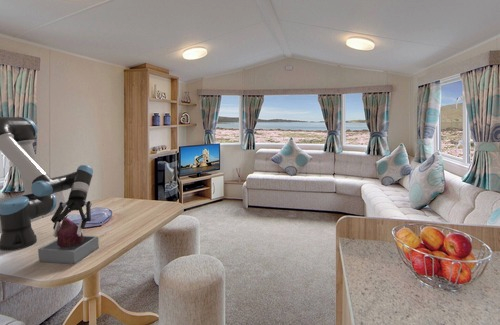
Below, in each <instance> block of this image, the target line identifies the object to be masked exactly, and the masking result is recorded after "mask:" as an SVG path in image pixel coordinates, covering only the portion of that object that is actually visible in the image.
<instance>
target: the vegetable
mask: <svg viewBox="0 0 500 325" xmlns="http://www.w3.org/2000/svg"><path fill="white" fill-rule="evenodd" d="M78 227H79V225H77V224H76V223H75V222H73V221H72V220H71V219H69V218H68V217H64V219H63V220H62V221H61V226H60V229H59V232H58V236H57V237H56V240H57V245H58V246H59V247H63V248H65V247H72V246H76V245H78V244H81V243H82V242H83V236H84V235H83V232H81V236H78V235H77V230H78Z"/></svg>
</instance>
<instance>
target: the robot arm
mask: <svg viewBox="0 0 500 325" xmlns="http://www.w3.org/2000/svg"><path fill="white" fill-rule="evenodd" d="M37 135H38V127H37V125H36V123H35V122H34V121H33V120H32V119H30V118H27V117H21V116H14V117H13V116H10V117H9V116H0V152H1V154H3V155H4V156H5V157H6V158H7V159H8V160H9V161H10V163H12V165H13V166H15V168H16V169H17V170H18V171H19V175H20V179H21V182H22V183H21V184H22V186H23V189H24V192H23V193H22V195H21V196H14V197H10V198H7V199H5V200H2V201H1V202H0V226H1V227H0V228H1V229H0V230H1V234H0V251H16V250H20V249H21V250H22V249H24V248H27V247H29V246H33V245H34V244H36V243H37V241H38V239H37V235H36V234H35V231H34V230H33V227H32V222H31V220H34V219H36V218H40V217H42V216H46V215H48V214H49V213H51V212H54V210H55V209H56V211H55V212H54V214H53V216H52V218H50V221H51V222H52V223H53V227H52V228H53V233H52V236H54V238H57V236H58V232H59V229H60V227H61V224H62V220H63V219H64V217H65V218H67V216H68V215H69V213H71V212H72V211H78V212H79V215H80V218H81V220H79V223H78V230H77V235H78V236H81V232H82V231H83V230H84V229H85V228H86V223H87V222H91V221H92V215H91V214H92V211H91V210H92V209H91V206H92V203H91V201H90V200H88V201H87V197H88V194H89V189H90V186H91V182H92V179H93V178H92V177H93V173H94V169H93V167H91V166H89V165H86V164H80V165H79V166H78V167H77V169H76V171H73V172H71V173H68V174H64V175H60V176H54V177H51V176H50V175H49V174H48V173H47V172H46V171H45V170H44V169H43V168H42V167H41V166H40V164H39V163H38V160H37V156H36V153H35V148H34V145H33V144H34V143H35V140H36V139H35V138H36V137H37ZM68 190H70V192H69V195H68V199H67V201H66V202H62V201H60V202H59V205H58V208H56V207H57V204H58V200H57V197H56V195H55V193H60V192H63V191H68ZM83 207H85V210H86V211H85V212H84V210H83ZM85 213H86V215H85ZM82 233H83V232H82Z"/></svg>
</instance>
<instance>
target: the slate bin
mask: <svg viewBox="0 0 500 325" xmlns="http://www.w3.org/2000/svg"><path fill="white" fill-rule="evenodd" d="M99 242H100V241H99V236H97V235H83V242H82V243H81V244H78V245H76V246H72V247H65V248H63V247H59V246H58V245H57V239H55V240H53V241H52V242H49V243H47V244H46V245H44V246H42V247H39V248H38V250H37V253H38V261H39V263H48V264H60V265H73V266H74V265H77V264H78V263H79V262H81V261H82V260H83V259H85V258H86V257H88V256H90V255H91V254H92V253H94V252H95V251H97V250H98V249H99V248H100V246H99Z"/></svg>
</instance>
